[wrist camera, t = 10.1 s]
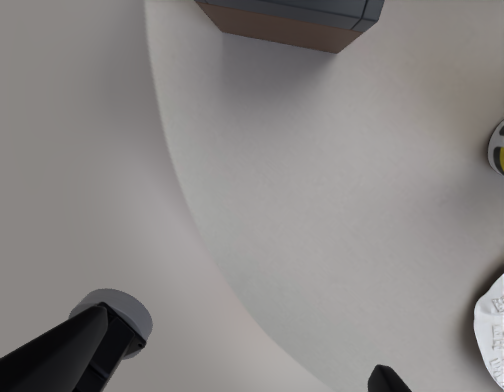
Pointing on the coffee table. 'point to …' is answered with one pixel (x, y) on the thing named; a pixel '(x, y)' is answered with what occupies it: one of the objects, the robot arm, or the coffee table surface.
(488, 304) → the plaque
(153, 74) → the coffee table surface
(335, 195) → the coffee table surface
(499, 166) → the supplement bottle
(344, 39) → the pad carrier
